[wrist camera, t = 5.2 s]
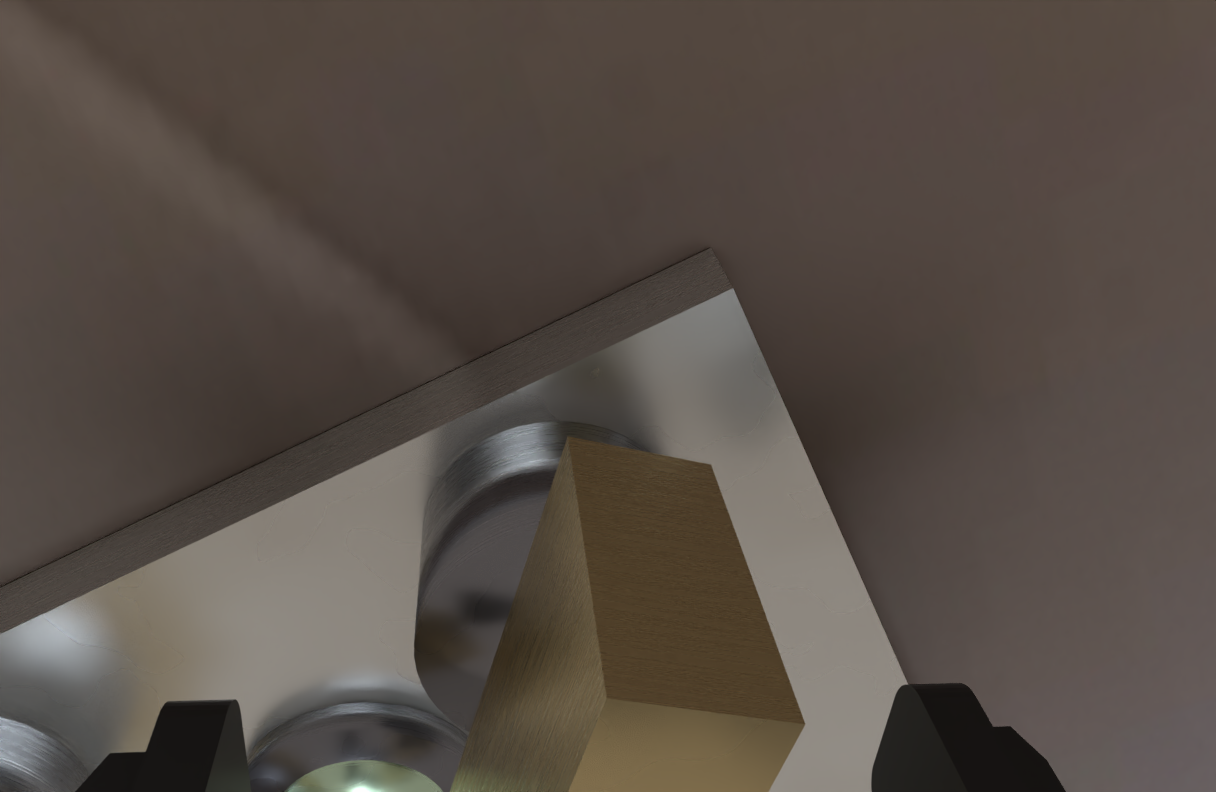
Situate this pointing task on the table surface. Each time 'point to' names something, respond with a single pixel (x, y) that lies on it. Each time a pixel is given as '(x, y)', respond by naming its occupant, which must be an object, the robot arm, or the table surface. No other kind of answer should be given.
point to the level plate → (390, 561)
